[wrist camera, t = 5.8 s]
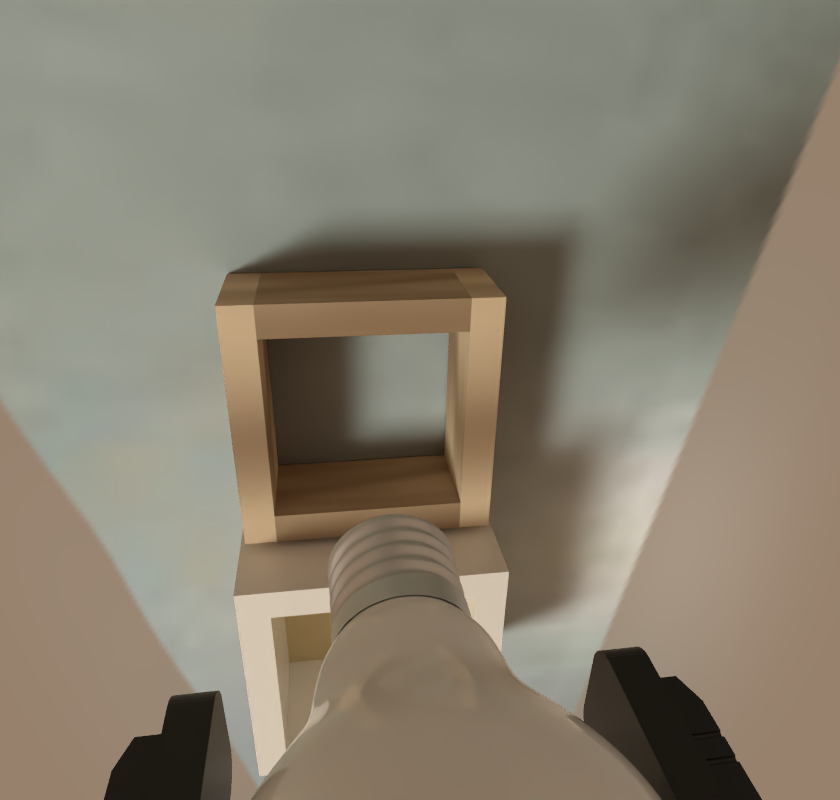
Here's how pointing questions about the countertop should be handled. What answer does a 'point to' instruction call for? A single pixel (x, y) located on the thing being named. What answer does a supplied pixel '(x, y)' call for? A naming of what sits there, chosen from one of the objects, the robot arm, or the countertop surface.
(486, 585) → the cream open cubby box
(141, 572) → the countertop surface
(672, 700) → the robot arm
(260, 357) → the wooden frame
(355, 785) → the lightbulb
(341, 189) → the countertop surface
